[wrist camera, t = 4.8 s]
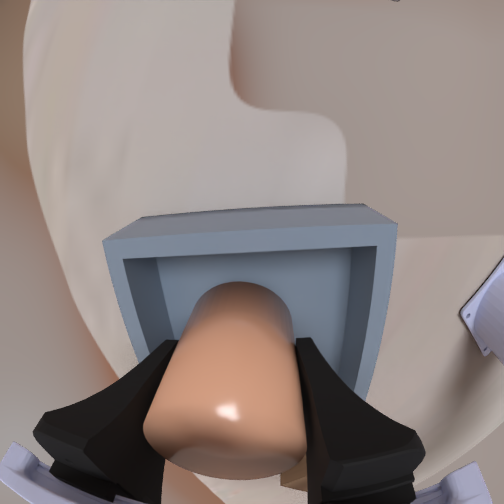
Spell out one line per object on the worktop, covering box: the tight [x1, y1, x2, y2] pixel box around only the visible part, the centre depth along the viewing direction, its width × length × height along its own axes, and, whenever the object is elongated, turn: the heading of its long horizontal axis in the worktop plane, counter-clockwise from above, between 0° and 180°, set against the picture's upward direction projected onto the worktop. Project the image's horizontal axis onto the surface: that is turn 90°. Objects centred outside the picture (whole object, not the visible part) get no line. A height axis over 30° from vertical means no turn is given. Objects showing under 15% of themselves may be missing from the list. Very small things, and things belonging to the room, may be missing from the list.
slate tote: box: [102, 204, 398, 401], centre depth 17 cm, size 18×14×5 cm
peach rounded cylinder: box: [143, 281, 307, 480], centre depth 10 cm, size 5×5×7 cm
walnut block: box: [280, 454, 308, 492], centre depth 23 cm, size 5×5×5 cm
